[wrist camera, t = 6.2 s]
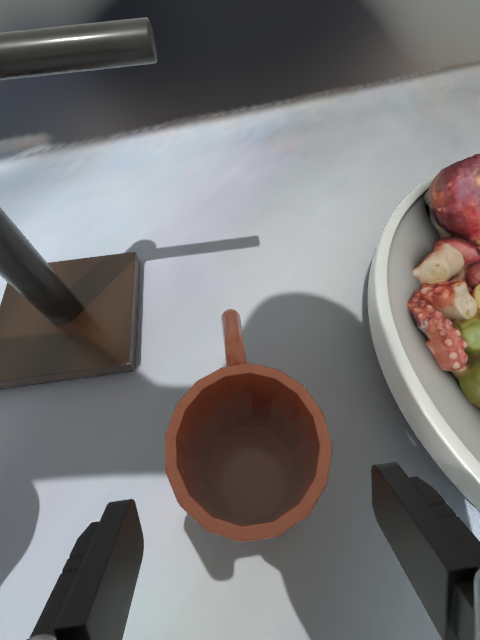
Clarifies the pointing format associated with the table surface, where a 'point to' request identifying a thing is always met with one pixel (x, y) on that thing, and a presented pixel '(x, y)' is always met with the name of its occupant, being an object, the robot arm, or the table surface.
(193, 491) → the mug
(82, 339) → the hook stand
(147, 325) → the table surface
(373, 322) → the bowl
